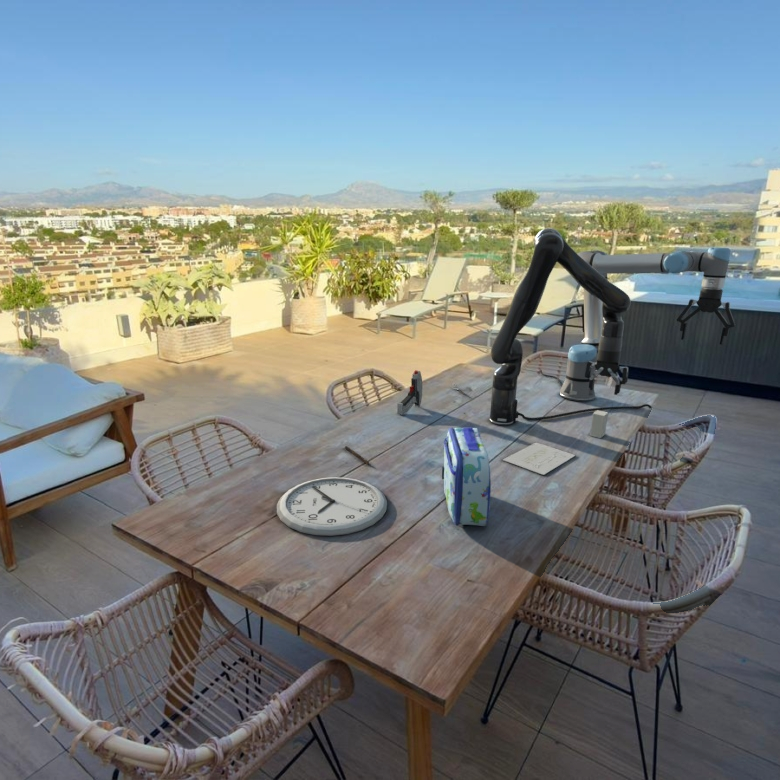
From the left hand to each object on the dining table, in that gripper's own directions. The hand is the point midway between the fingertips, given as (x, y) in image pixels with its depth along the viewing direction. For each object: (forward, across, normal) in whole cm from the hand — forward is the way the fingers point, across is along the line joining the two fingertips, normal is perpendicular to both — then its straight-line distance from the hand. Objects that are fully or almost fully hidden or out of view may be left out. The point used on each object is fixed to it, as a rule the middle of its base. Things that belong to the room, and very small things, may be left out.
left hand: (603, 391), depth 190 cm
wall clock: (+17, -41, -100) cm, 109 cm away
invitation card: (+17, -9, -34) cm, 39 cm away
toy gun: (+17, -70, -23) cm, 75 cm away
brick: (+17, 0, 0) cm, 17 cm away
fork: (+17, -67, +13) cm, 70 cm away
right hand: (-14, +22, +50) cm, 56 cm away
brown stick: (+17, -56, -72) cm, 93 cm away
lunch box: (+17, -12, -78) cm, 81 cm away
